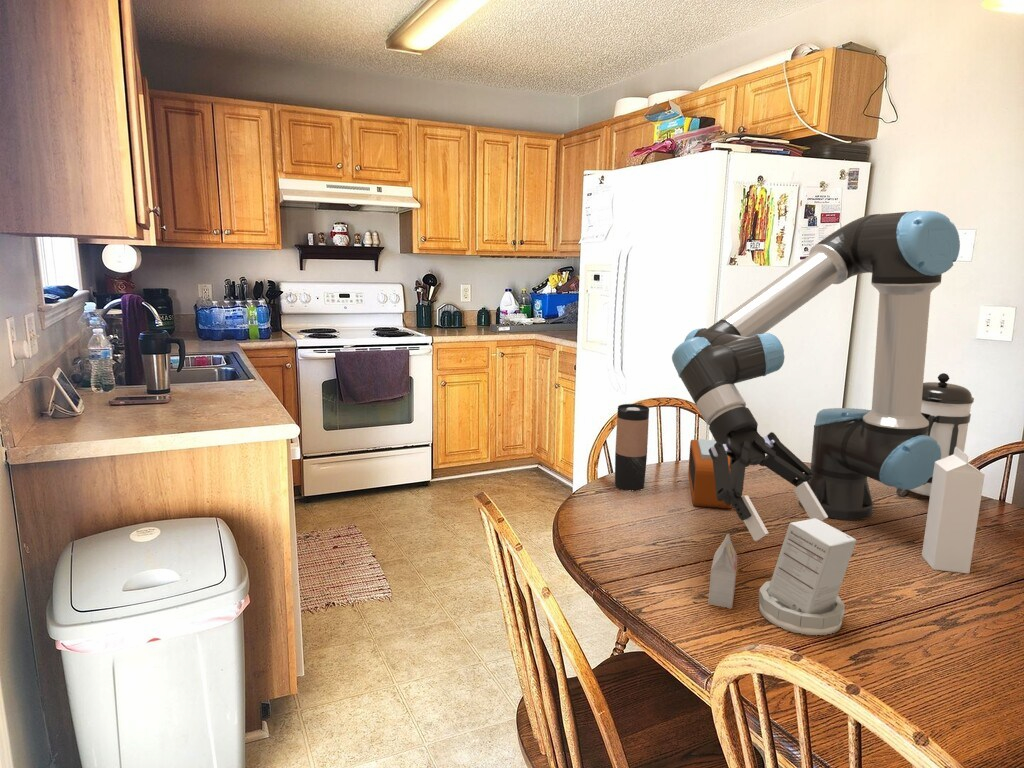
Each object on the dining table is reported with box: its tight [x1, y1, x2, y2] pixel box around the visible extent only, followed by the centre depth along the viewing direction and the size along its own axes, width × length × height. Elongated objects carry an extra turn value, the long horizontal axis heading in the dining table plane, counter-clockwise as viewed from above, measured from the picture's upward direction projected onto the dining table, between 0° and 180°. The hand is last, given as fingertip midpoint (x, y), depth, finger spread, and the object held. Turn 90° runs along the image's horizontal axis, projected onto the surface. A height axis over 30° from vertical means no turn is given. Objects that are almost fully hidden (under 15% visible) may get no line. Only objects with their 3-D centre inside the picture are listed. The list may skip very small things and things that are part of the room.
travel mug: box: [614, 403, 650, 492], centre depth 161 cm, size 8×8×20 cm
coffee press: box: [895, 372, 975, 497], centre depth 156 cm, size 17×16×30 cm
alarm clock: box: [687, 439, 733, 510], centre depth 159 cm, size 24×8×11 cm, turn 168°
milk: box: [921, 447, 985, 574], centre depth 121 cm, size 6×6×22 cm
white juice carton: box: [707, 533, 738, 609], centre depth 109 cm, size 4×7×10 cm, turn 158°
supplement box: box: [768, 518, 857, 614], centre depth 103 cm, size 7×7×13 cm
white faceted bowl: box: [758, 580, 846, 637], centre depth 104 cm, size 12×12×3 cm
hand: (792, 529), depth 105 cm, fingers open, 13 cm apart
